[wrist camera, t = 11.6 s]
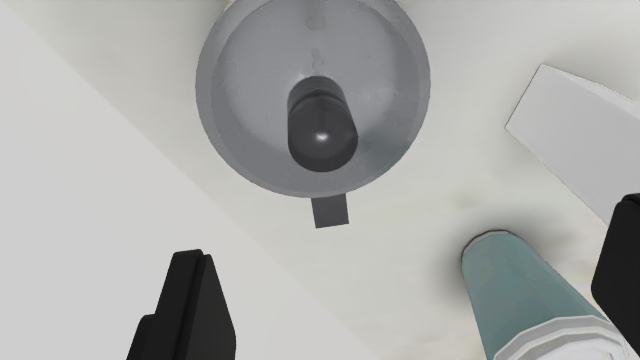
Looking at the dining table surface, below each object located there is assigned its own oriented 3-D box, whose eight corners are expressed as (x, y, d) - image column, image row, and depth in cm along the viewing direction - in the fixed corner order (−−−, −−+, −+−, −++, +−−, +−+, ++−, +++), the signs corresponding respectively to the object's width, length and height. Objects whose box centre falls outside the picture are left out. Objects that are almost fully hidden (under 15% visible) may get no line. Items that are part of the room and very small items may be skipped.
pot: (182, -73, 29) (146, -70, 22) (392, -104, 29) (431, -111, 22) (244, 179, 39) (235, 244, 32) (401, 157, 39) (430, 216, 32)
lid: (187, 8, 24) (161, 33, 18) (412, -26, 24) (448, -11, 18) (238, 197, 30) (229, 255, 24) (416, 170, 30) (445, 223, 24)
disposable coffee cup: (541, 201, 43) (652, 323, 30) (542, 280, 48) (637, 411, 36) (433, 229, 44) (496, 359, 31) (447, 304, 49) (505, 441, 36)
